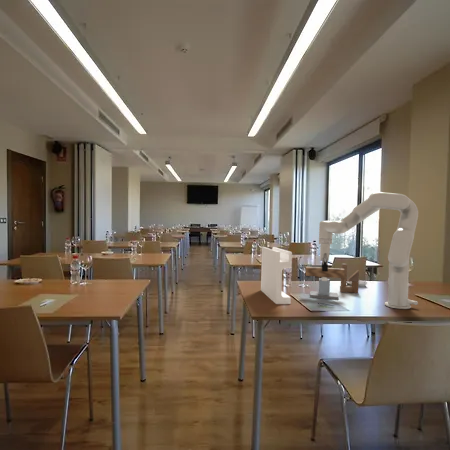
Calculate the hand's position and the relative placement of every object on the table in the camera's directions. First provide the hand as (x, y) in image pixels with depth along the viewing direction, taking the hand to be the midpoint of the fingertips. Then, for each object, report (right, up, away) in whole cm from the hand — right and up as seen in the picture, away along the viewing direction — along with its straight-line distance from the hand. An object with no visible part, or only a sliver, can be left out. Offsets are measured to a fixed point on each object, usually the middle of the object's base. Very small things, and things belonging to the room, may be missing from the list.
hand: (324, 270), depth 204 cm
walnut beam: (0, -4, 0) cm, 4 cm away
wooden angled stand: (+20, -16, +15) cm, 30 cm away
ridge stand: (0, -16, 0) cm, 16 cm away
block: (-30, -15, -3) cm, 34 cm away
